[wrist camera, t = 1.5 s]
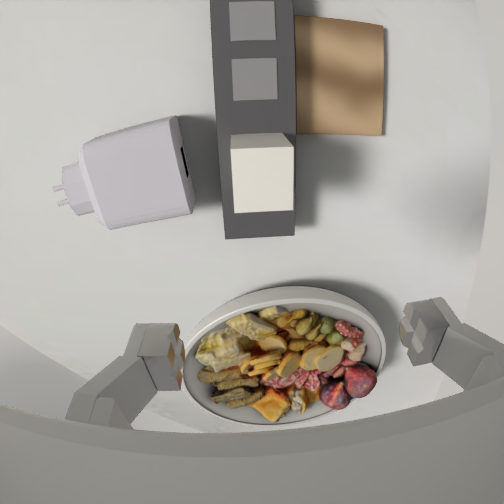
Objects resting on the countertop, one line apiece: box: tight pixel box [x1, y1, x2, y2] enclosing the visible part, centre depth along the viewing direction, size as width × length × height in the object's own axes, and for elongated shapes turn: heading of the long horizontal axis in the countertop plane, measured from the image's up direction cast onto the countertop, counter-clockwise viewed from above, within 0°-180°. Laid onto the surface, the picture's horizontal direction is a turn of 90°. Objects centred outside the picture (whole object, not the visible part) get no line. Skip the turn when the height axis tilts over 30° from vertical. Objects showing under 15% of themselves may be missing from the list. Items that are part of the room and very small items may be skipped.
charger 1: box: [52, 115, 195, 230], centre depth 29 cm, size 5×9×15 cm
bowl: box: [181, 286, 386, 427], centre depth 43 cm, size 30×30×8 cm
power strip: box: [210, 0, 296, 239], centre depth 26 cm, size 28×7×4 cm, turn 2°
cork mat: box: [293, 16, 384, 136], centre depth 27 cm, size 12×9×1 cm
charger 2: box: [230, 133, 294, 213], centre depth 26 cm, size 5×4×8 cm
